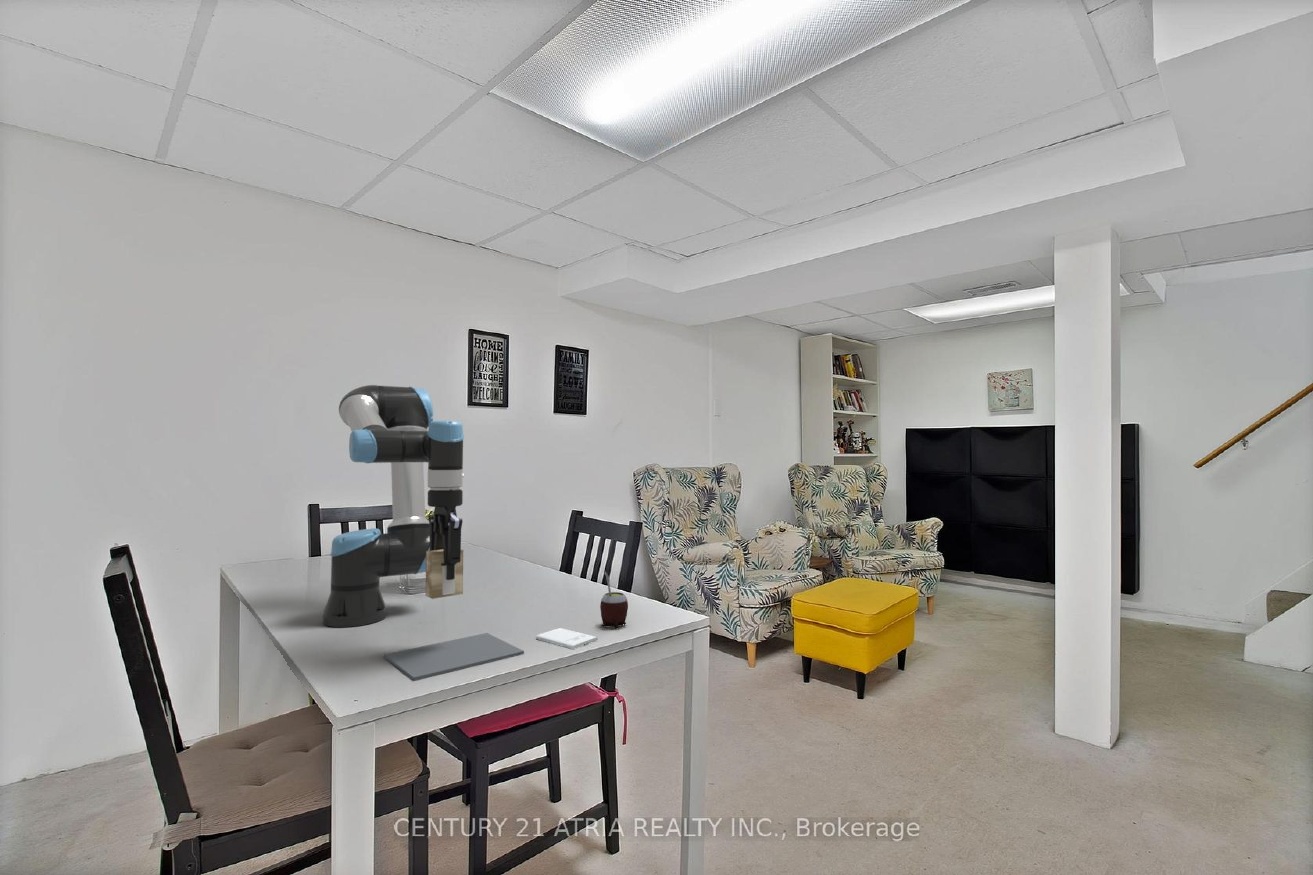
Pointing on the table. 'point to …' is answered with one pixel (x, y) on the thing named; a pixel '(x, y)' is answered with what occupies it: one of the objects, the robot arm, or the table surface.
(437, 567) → the face block
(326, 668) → the table surface
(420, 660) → the mat
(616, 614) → the mate gourd
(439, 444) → the robot arm
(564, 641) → the external hard drive
